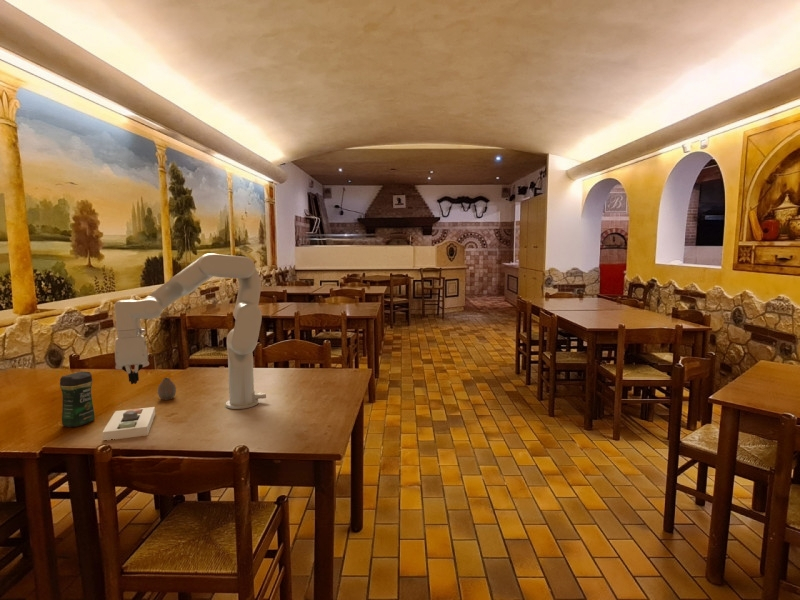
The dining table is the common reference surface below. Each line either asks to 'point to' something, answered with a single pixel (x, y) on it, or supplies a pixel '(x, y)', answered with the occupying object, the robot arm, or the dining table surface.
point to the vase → (166, 389)
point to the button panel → (139, 430)
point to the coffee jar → (77, 399)
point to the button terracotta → (135, 410)
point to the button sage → (127, 424)
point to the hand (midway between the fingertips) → (134, 382)
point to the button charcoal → (130, 416)
